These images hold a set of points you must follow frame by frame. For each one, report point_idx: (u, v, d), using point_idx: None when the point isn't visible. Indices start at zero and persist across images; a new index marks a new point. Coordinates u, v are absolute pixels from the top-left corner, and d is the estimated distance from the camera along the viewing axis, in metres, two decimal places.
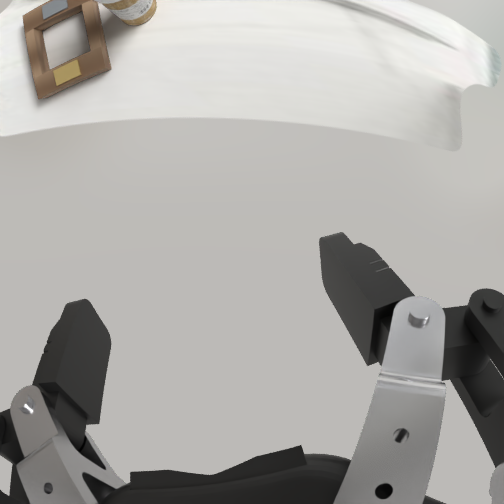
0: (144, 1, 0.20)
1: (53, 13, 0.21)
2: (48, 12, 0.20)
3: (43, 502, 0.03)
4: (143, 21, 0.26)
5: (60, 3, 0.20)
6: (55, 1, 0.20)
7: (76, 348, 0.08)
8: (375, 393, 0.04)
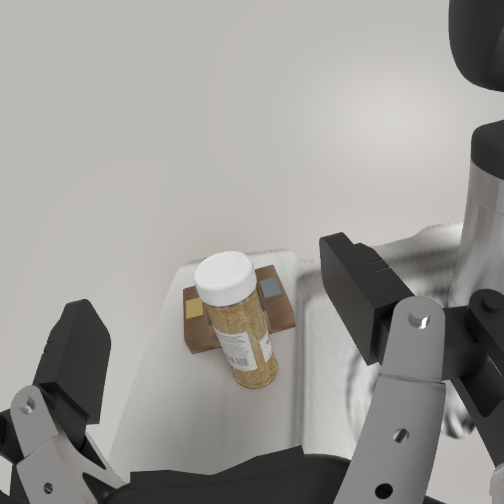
0: (227, 346, 0.25)
1: (262, 288, 0.36)
2: (265, 283, 0.37)
3: (43, 502, 0.03)
4: (235, 375, 0.29)
5: (272, 291, 0.36)
6: (276, 286, 0.36)
7: (76, 348, 0.08)
8: (375, 393, 0.04)
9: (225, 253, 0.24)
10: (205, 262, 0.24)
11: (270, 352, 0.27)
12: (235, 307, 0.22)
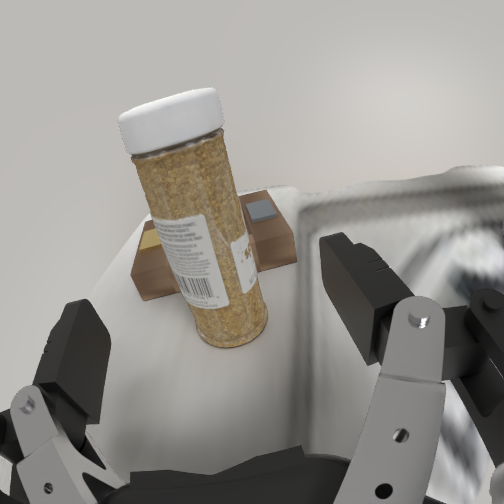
0: (172, 251, 0.14)
1: (249, 210, 0.26)
2: (254, 205, 0.26)
3: (43, 502, 0.03)
4: (197, 327, 0.18)
5: (262, 212, 0.25)
6: (268, 207, 0.25)
7: (76, 348, 0.08)
8: (375, 393, 0.04)
9: None
10: None
11: (253, 277, 0.16)
12: (179, 153, 0.11)
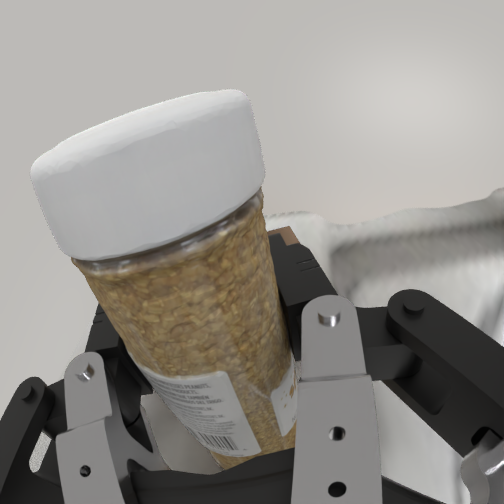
0: (168, 403, 0.07)
1: None
2: None
3: (75, 483, 0.03)
4: None
5: None
6: None
7: None
8: (299, 399, 0.04)
9: (164, 103, 0.07)
10: (97, 126, 0.06)
11: (296, 411, 0.09)
12: (165, 268, 0.05)
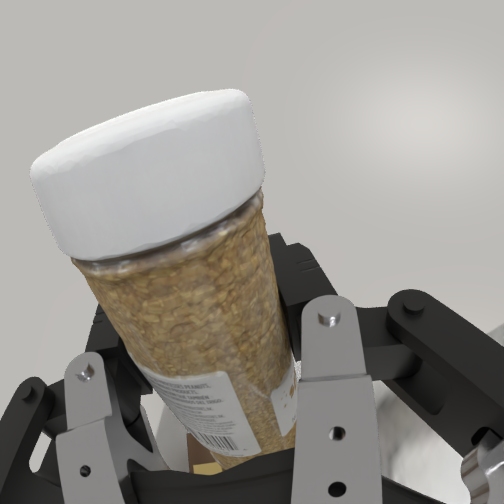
0: (168, 403, 0.07)
1: None
2: None
3: (75, 483, 0.03)
4: None
5: None
6: None
7: None
8: (299, 399, 0.04)
9: (164, 102, 0.07)
10: (97, 126, 0.06)
11: (296, 411, 0.09)
12: (164, 268, 0.05)
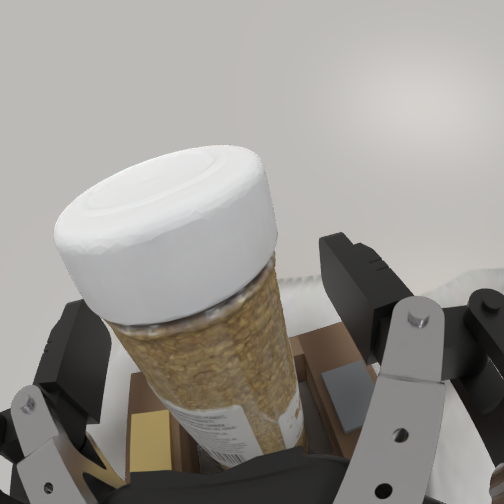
0: (186, 427, 0.08)
1: (333, 396, 0.12)
2: (339, 382, 0.12)
3: (43, 502, 0.03)
4: None
5: (361, 408, 0.11)
6: (370, 392, 0.12)
7: (76, 348, 0.08)
8: (375, 393, 0.04)
9: (177, 152, 0.07)
10: (112, 177, 0.07)
11: (300, 428, 0.10)
12: (191, 332, 0.05)
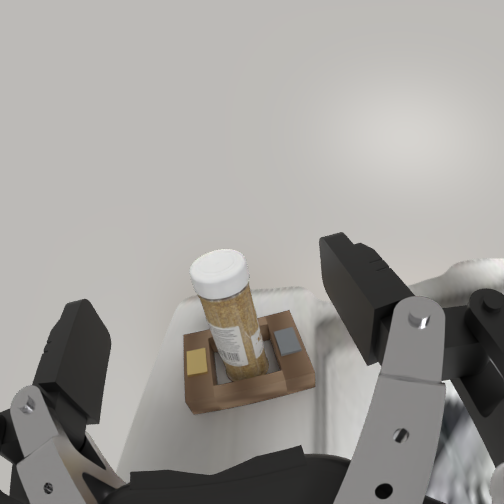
0: (219, 340, 0.26)
1: (278, 341, 0.30)
2: (281, 335, 0.31)
3: (43, 502, 0.03)
4: (226, 372, 0.30)
5: (289, 346, 0.29)
6: (294, 340, 0.30)
7: (76, 348, 0.08)
8: (375, 393, 0.04)
9: (221, 250, 0.26)
10: (201, 258, 0.25)
11: (261, 349, 0.28)
12: (228, 301, 0.23)
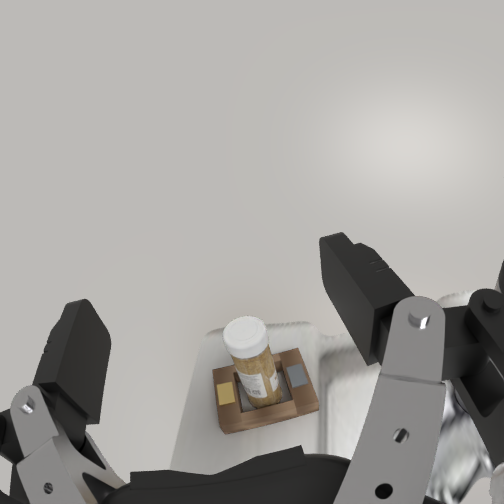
0: (245, 381, 0.33)
1: (289, 375, 0.37)
2: (292, 370, 0.37)
3: (43, 502, 0.03)
4: (249, 399, 0.37)
5: (298, 380, 0.36)
6: (302, 374, 0.36)
7: (76, 348, 0.08)
8: (375, 393, 0.04)
9: (245, 317, 0.32)
10: (231, 324, 0.32)
11: (277, 384, 0.35)
12: (253, 358, 0.30)
